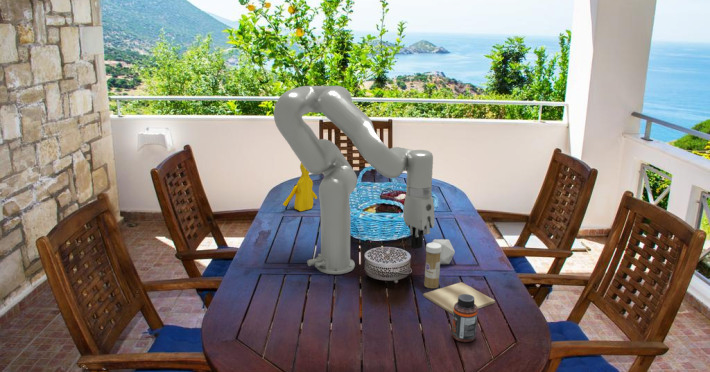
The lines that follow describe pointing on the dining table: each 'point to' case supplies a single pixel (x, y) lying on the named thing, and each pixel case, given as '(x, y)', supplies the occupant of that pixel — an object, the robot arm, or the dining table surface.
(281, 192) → the dining table surface
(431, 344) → the dining table surface
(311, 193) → the figure statuette
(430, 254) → the sprinkles bottle
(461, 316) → the supplement bottle
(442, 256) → the die
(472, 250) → the dining table surface
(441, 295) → the board
